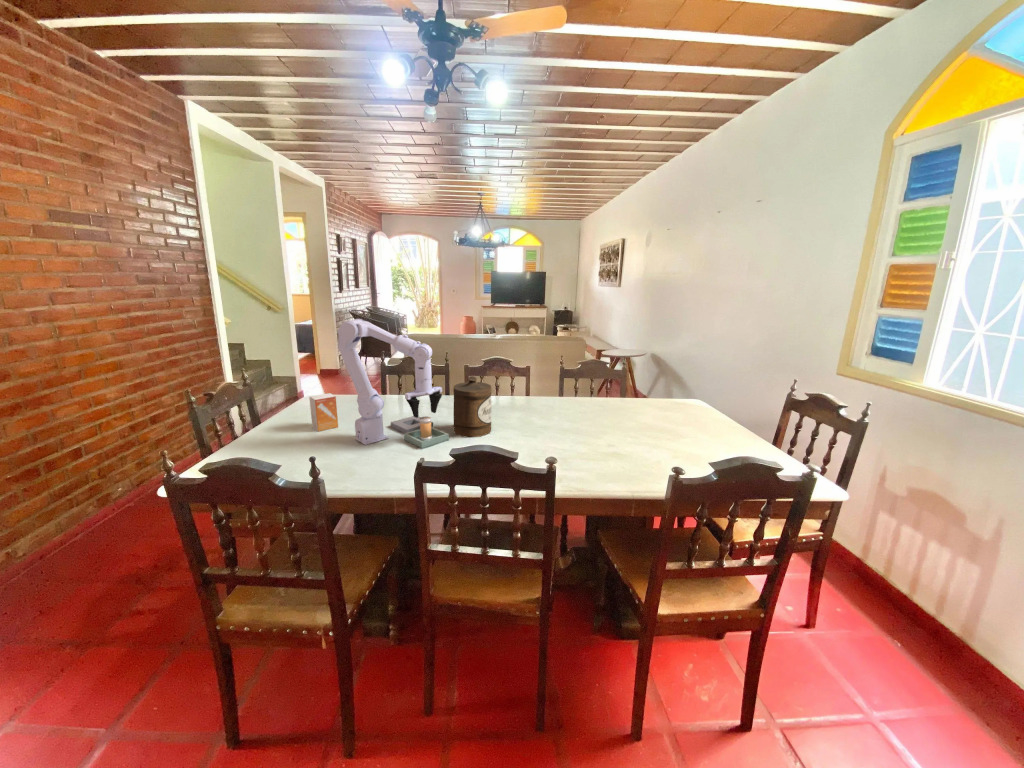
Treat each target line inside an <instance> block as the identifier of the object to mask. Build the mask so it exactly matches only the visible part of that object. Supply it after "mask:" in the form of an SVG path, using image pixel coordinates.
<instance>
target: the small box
mask: <svg viewBox="0 0 1024 768" xmlns="http://www.w3.org/2000/svg"><path fill="white" fill-rule="evenodd" d="M308 397H309V407H310V408H309V409H310V416H311V417H310V418H311V426H312V428H313V429H314V430H316V431H317V432H319V433H320V432H322V431H323V432H324V431H326V430H331V429H336V428H339V418H338V406H337V397H336V395H335V394H333V393H331V392H329V393H322V394H317V395H312V396H311V395H310V396H308Z"/></svg>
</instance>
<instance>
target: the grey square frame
mask: <svg viewBox="0 0 1024 768" xmlns="http://www.w3.org/2000/svg"><path fill="white" fill-rule="evenodd" d="M421 417H422V416H421ZM421 417H420V415H419V416H418V418H416V417H414V416H409V417H405V418H401V419H398V420H397V419H396V420H393V421H390V427H391V428H393V429H395V430H397V431H399V432H401V433H403V434H405V433H408V432H412V431H415V430H419V429H420V418H421ZM431 427H433V428H434V421H433V422H432V421H431Z"/></svg>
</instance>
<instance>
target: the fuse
mask: <svg viewBox="0 0 1024 768" xmlns="http://www.w3.org/2000/svg"><path fill="white" fill-rule="evenodd" d="M431 422H432V417H431V416H421V418H420V435H421V436H420V440H422V441H425V440H428V439H431V438H432V433H431Z"/></svg>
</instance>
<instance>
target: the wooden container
mask: <svg viewBox="0 0 1024 768" xmlns="http://www.w3.org/2000/svg"><path fill="white" fill-rule="evenodd" d="M453 432H454V434H455V435H457V436H460V437H464V438H478V437H483V436H486V435H488V434H490V433H491V432H492V385H491V384H489V383H486V382H481V381H479V382H478V381H477V377H476V376H474V375H472V376H469V377H468V378H467V381H465V382H460V383H456V384H454V386H453Z"/></svg>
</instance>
